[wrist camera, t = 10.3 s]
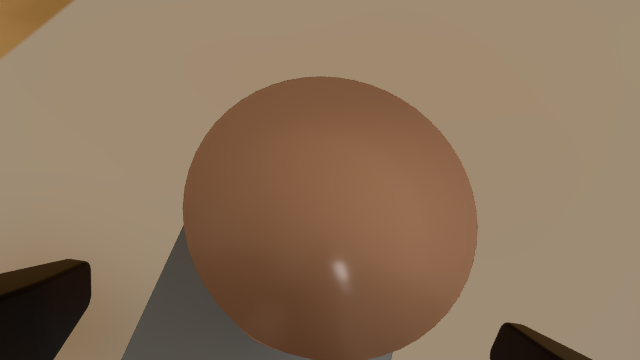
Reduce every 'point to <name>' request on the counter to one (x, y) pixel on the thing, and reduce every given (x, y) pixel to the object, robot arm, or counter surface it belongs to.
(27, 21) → the counter surface
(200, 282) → the gray panel
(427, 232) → the brown rounded tapered cylinder
